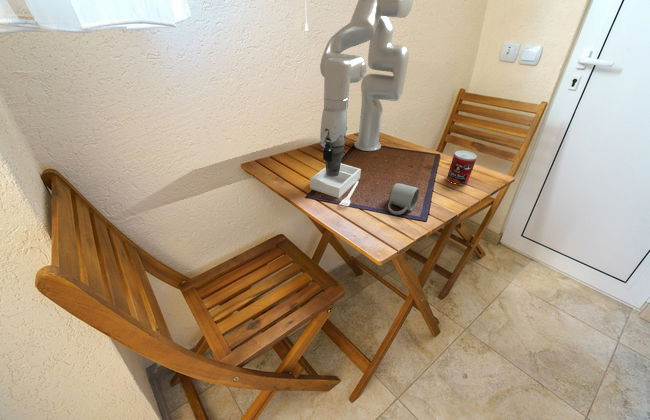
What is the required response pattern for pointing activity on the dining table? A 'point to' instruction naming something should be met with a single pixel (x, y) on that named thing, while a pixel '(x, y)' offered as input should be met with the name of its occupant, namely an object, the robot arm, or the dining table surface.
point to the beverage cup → (335, 157)
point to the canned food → (461, 167)
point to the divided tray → (335, 181)
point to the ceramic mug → (403, 197)
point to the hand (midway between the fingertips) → (333, 156)
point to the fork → (347, 200)
